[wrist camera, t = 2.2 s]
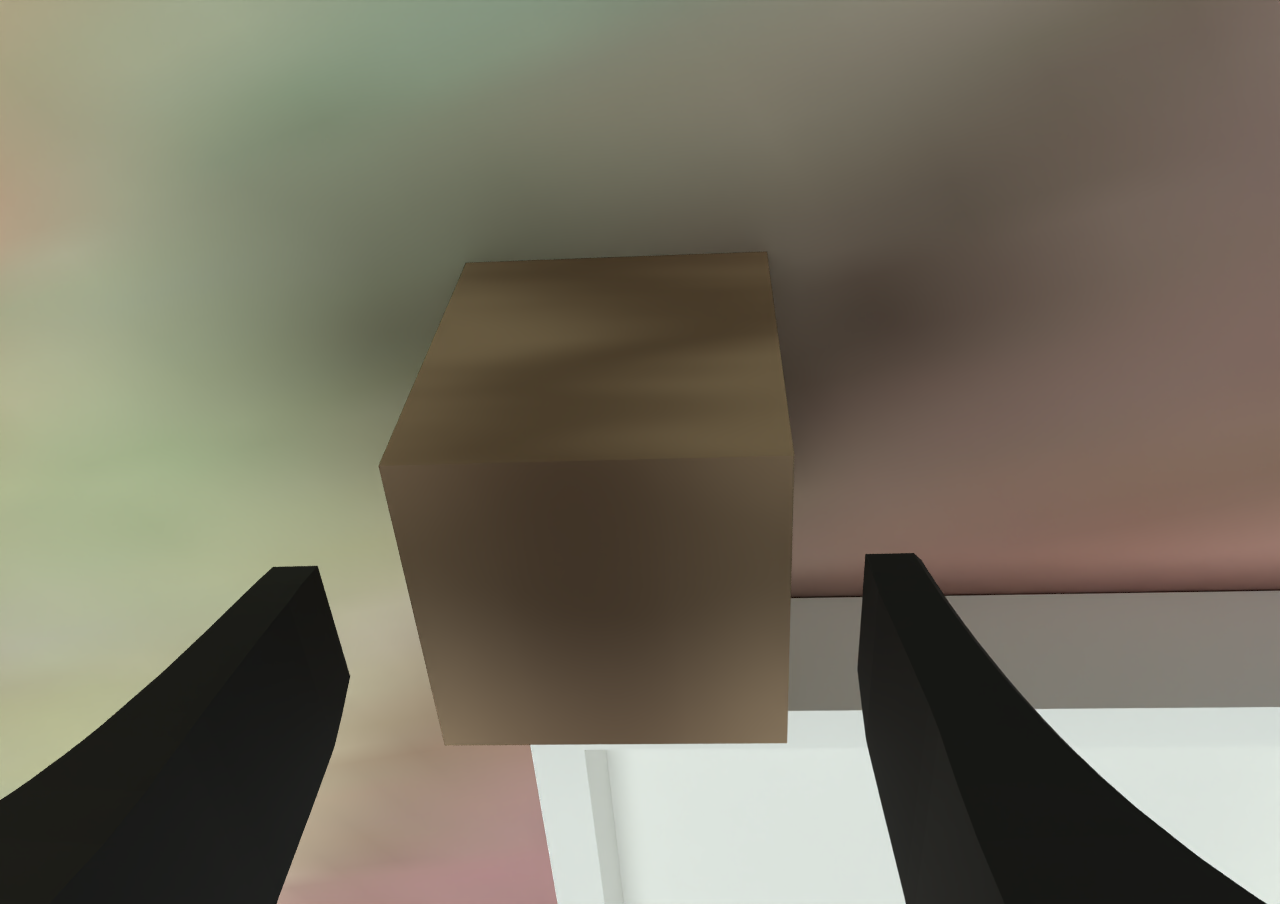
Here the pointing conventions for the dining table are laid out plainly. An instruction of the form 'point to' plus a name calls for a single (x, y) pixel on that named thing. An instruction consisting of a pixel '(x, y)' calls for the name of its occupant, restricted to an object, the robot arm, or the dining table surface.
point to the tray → (844, 779)
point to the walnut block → (601, 503)
